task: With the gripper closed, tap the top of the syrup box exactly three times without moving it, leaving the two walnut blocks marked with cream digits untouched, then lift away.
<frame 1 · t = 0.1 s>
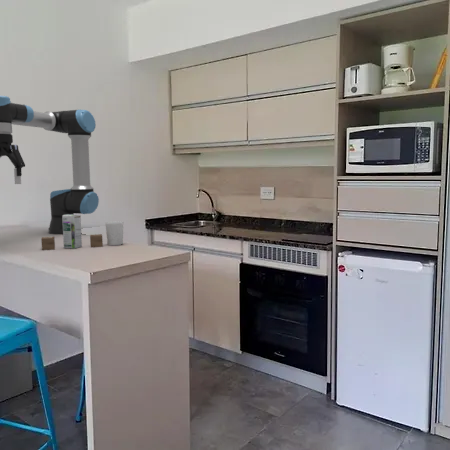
hand: (5, 184, 194), 28 cm above the table, tool pointing down, fingers open, 13 cm apart
walnut block seven: (48, 249, 196), on the table
white cup: (115, 244, 206), on the table
syrup box: (73, 247, 199), on the table
walnut block one: (96, 246, 202), on the table
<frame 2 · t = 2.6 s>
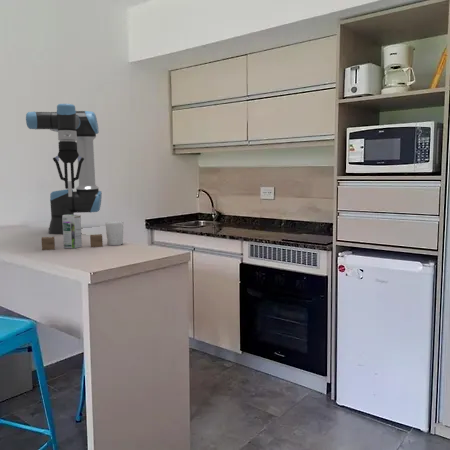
hand: (70, 196, 196), 22 cm above the table, tool pointing down, fingers closed
nothing on the table moved.
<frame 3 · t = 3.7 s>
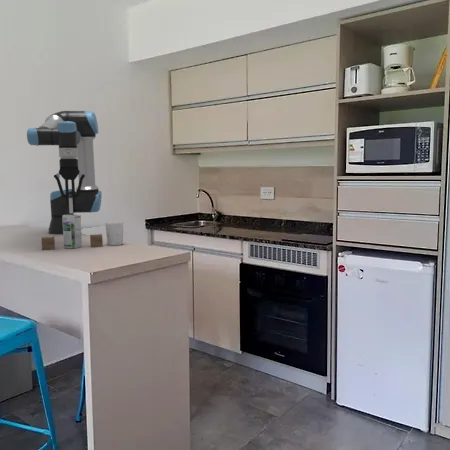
hand: (71, 212, 197), 15 cm above the table, tool pointing down, fingers closed
nothing on the table moved.
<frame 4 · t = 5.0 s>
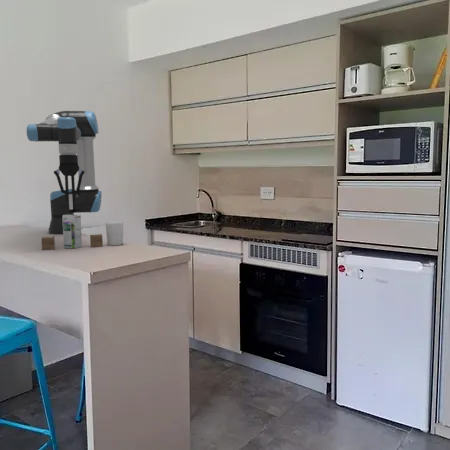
hand: (71, 209, 197), 17 cm above the table, tool pointing down, fingers closed
nothing on the table moved.
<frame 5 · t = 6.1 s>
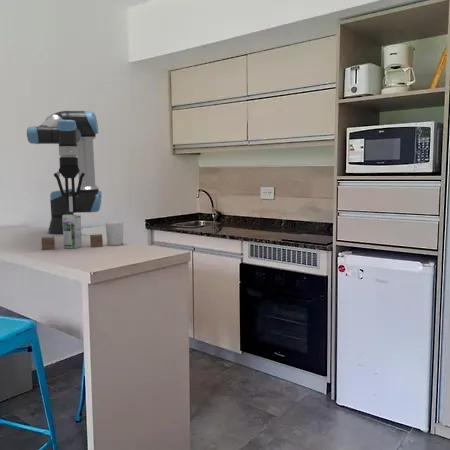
hand: (71, 211, 197), 16 cm above the table, tool pointing down, fingers closed
nothing on the table moved.
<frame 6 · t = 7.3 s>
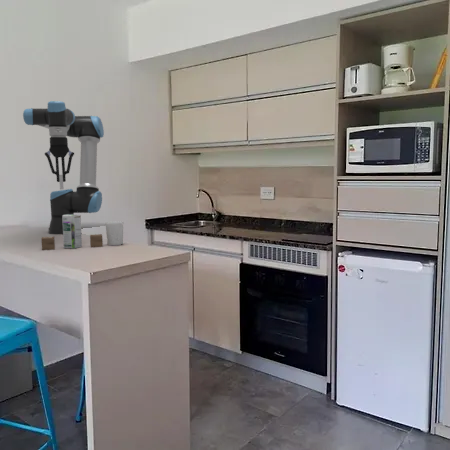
hand: (61, 189, 207), 25 cm above the table, tool pointing down, fingers closed
nothing on the table moved.
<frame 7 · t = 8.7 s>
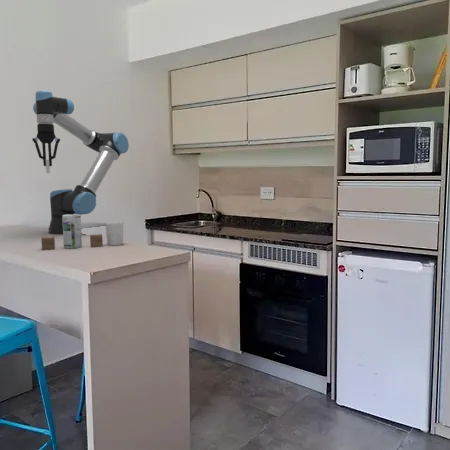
hand: (48, 173, 222), 32 cm above the table, tool pointing down, fingers closed
nothing on the table moved.
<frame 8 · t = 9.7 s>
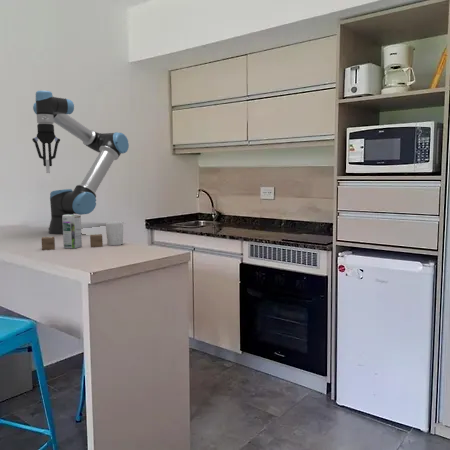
hand: (48, 173, 222), 32 cm above the table, tool pointing down, fingers closed
nothing on the table moved.
at the end: syrup box moved 0.2 cm from its start; syrup box tilted 0°; walnut block seven moved 0.1 cm from its start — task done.
